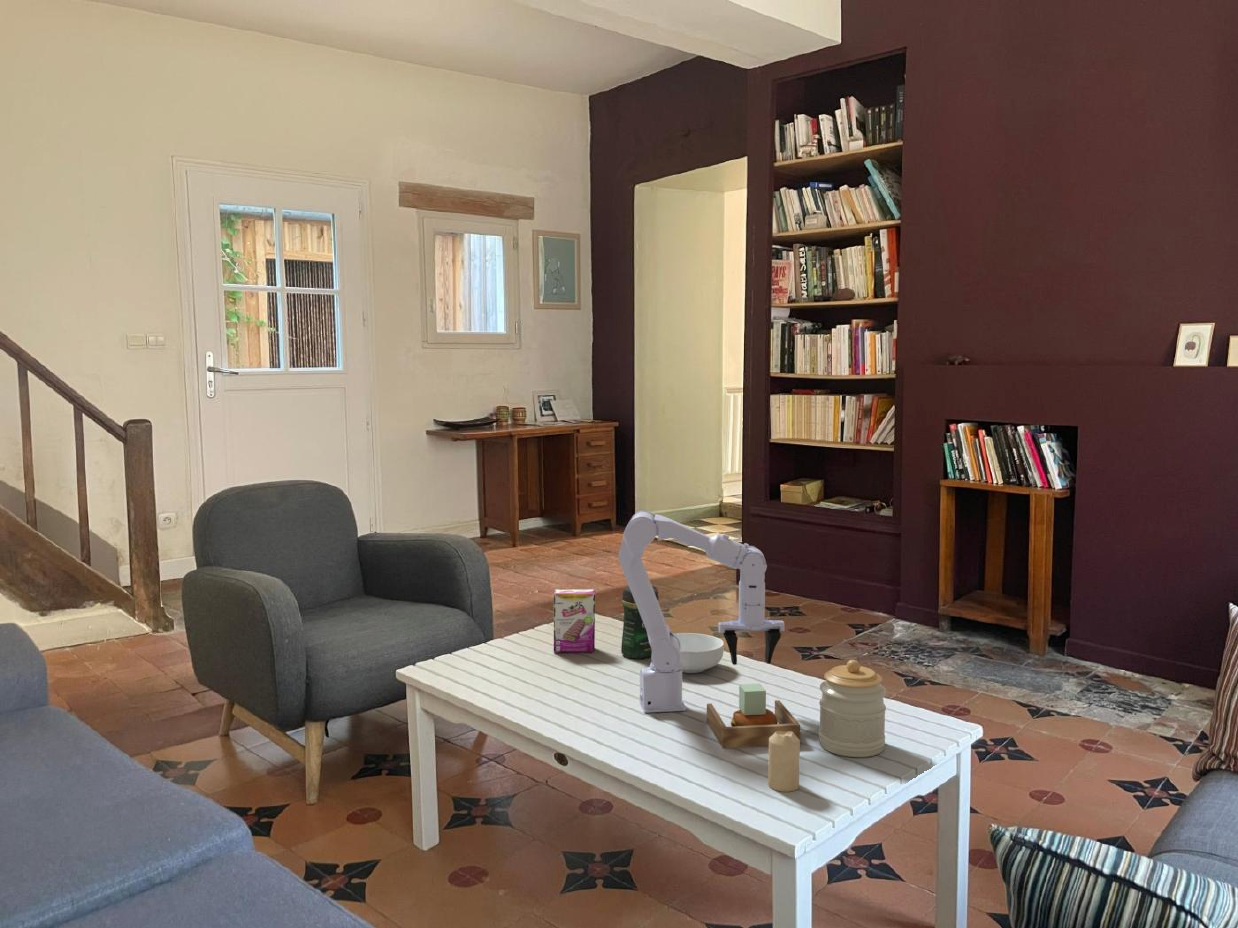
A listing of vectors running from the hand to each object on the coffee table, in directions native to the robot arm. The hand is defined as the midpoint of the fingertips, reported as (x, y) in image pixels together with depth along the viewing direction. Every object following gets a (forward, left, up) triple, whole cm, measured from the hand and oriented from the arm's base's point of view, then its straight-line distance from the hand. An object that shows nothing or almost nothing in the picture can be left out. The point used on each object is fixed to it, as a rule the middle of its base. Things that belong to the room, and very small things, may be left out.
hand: (751, 662), depth 210 cm
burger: (-3, -14, -11) cm, 18 cm away
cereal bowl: (-7, +30, -11) cm, 33 cm away
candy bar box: (-35, +49, -11) cm, 61 cm away
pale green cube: (-3, -13, -6) cm, 15 cm away
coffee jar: (-18, +43, -11) cm, 48 cm away
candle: (-4, -39, -11) cm, 41 cm away
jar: (+15, -23, -11) cm, 29 cm away
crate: (-3, -14, -10) cm, 17 cm away
